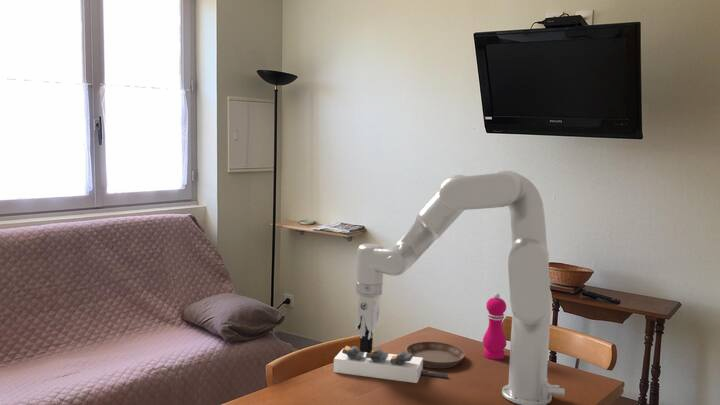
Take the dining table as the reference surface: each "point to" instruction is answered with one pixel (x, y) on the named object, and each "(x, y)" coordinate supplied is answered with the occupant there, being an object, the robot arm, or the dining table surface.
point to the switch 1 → (353, 352)
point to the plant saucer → (436, 354)
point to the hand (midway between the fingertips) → (365, 351)
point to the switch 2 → (401, 358)
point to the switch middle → (377, 355)
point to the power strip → (383, 368)
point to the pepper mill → (495, 329)
